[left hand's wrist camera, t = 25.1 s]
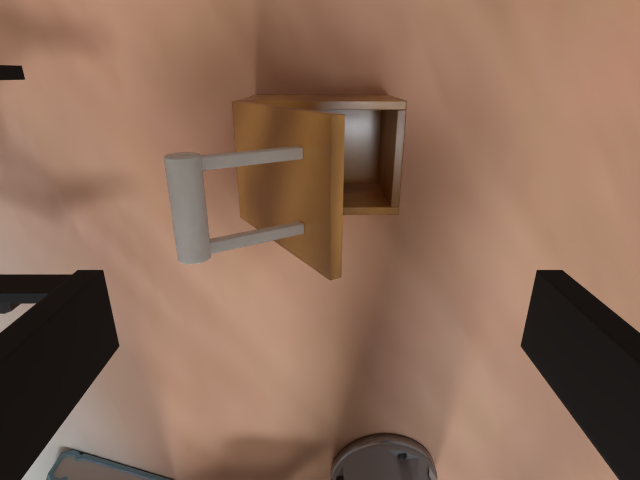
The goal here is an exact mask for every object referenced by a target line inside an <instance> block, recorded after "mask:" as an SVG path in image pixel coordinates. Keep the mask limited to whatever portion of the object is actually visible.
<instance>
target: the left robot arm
mask: <svg viewBox="0 0 640 480" xmlns="http://www.w3.org/2000/svg"><path fill="white" fill-rule="evenodd" d="M118 347H119V342H118V338H117V333H116V328H115V323H114V319H113V314H112V309H111V305H110V300H109V295H108V291H107V286H106V281H105V277H104V272H103V270H77V271H76V272H75V273H74V274H72V275H71V276H70V277H69V278H67V279H66V280H65V281H64V282H62V283H61V284H60V285H59V286H58V287H56V288H55V289H54V290H53V291H51V292H50V293H49V294H48V295H46V296H45V297H44V298H43V299H42V300H40V301H39V302H38V303H37V304H35V305H34V306H33V307H32V308H30V309H29V310H28V311H27V312H26V313H24V314H23V315H22V316H21V317H19V318H18V319H17V320H16V321H14V322H13V323H12V324H11V325H10V326H8V327H7V328H6V329H5V330H3V331H2V332H1V333H0V480H21V479H22V478H23V476H24V475H25V474H26V472H27V471H28V470H29V468H30V467H31V465H32V464H33V463H34V461H35V460H36V459H37V457H38V456H39V455H40V453H41V452H42V451H43V449H44V448H45V446H46V445H47V444H48V442H49V441H50V440H51V438H52V437H53V436H54V434H55V433H56V431H57V430H58V429H59V427H60V426H61V425H62V423H63V422H64V421H65V419H66V418H67V417H68V415H69V414H70V412H71V411H72V410H73V408H74V407H75V406H76V404H77V403H78V402H79V400H80V399H81V398H82V396H83V395H84V393H85V392H86V391H87V389H88V388H89V387H90V385H91V384H92V383H93V381H94V380H95V379H96V377H97V376H98V374H99V373H100V372H101V370H102V369H103V368H104V366H105V365H106V364H107V362H108V361H109V359H110V358H111V357H112V355H113V354H114V353H115V351H116V350H117V349H118ZM521 347H522V349H523V350H524V351H525V353H526V354H527V355H528V357H529V358H530V359H531V361H532V362H533V364H534V365H535V366H536V368H537V369H538V370H539V372H540V373H541V374H542V376H543V377H544V379H545V380H546V381H547V383H548V384H549V385H550V387H551V388H552V389H553V391H554V392H555V393H556V395H557V396H558V398H559V399H560V400H561V402H562V403H563V404H564V406H565V407H566V408H567V410H568V411H569V412H570V414H571V415H572V417H573V418H574V419H575V421H576V422H577V423H578V425H579V426H580V427H581V429H582V430H583V431H584V433H585V434H586V436H587V437H588V438H589V440H590V441H591V442H592V444H593V445H594V446H595V448H596V449H597V451H598V452H599V453H600V455H601V456H602V457H603V459H604V460H605V461H606V463H607V464H608V465H609V467H610V468H611V470H612V471H613V472H614V474H615V475H616V476H617V478H618V479H619V480H640V333H639V332H638V331H637V330H635V329H634V328H633V327H632V326H630V325H629V324H628V323H627V322H626V321H624V320H623V319H622V318H621V317H619V316H618V315H617V314H616V313H614V312H613V311H612V310H611V309H610V308H608V307H607V306H606V305H605V304H603V303H602V302H601V301H600V300H598V299H597V298H596V297H595V296H594V295H592V294H591V293H590V292H589V291H587V290H586V289H585V288H584V287H582V286H581V285H580V284H579V283H578V282H576V281H575V280H574V279H573V278H571V277H570V276H569V275H568V274H566V273H565V272H564V271H563V270H537V272H536V277H535V281H534V286H533V291H532V295H531V300H530V305H529V309H528V314H527V319H526V323H525V328H524V333H523V338H522V342H521ZM331 480H437V473H436V469H435V466H434V462H433V459H432V457H431V455H430V454H429V452H428V451H427V450H426V449H425V448H424V447H423V446H422V445H420V444H419V443H417V442H416V441H414V440H412V439H409V438H406V437H403V436H398V435H391V434H380V435H372V436H368V437H364V438H361V439H359V440H356V441H354V442H353V443H351V444H349V445H348V446H346V447H345V448H344V449H343V450H342V451H341V452H340V453H339V454H338V455H337V457H336V458H335V460H334V462H333V464H332V468H331Z"/></svg>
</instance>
